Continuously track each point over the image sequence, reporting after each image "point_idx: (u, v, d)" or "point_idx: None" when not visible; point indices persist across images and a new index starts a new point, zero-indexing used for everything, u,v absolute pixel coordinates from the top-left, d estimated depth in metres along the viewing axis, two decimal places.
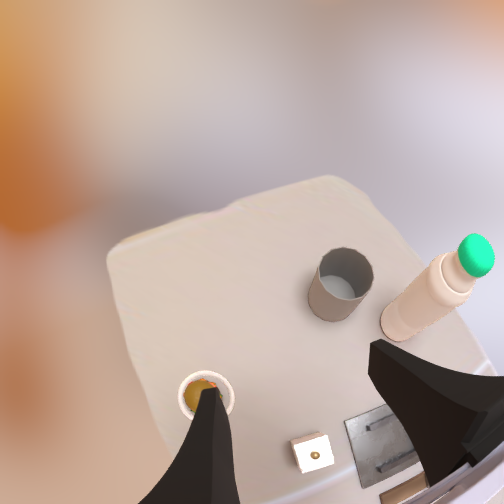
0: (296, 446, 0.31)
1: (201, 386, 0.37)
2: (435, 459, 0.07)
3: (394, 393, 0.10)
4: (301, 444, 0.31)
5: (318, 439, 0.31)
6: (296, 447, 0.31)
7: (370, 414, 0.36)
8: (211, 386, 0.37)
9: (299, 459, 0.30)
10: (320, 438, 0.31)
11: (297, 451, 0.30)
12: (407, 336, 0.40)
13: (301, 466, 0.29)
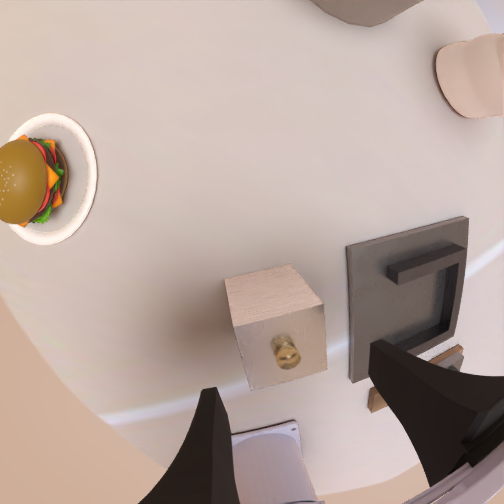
0: (239, 329, 0.13)
1: (6, 157, 0.10)
2: (435, 459, 0.07)
3: (394, 393, 0.10)
4: (253, 325, 0.13)
5: (300, 313, 0.14)
6: (239, 332, 0.13)
7: (399, 243, 0.19)
8: (29, 151, 0.11)
9: (245, 361, 0.14)
10: (305, 311, 0.14)
11: (241, 342, 0.14)
12: (485, 113, 0.15)
13: (249, 376, 0.14)
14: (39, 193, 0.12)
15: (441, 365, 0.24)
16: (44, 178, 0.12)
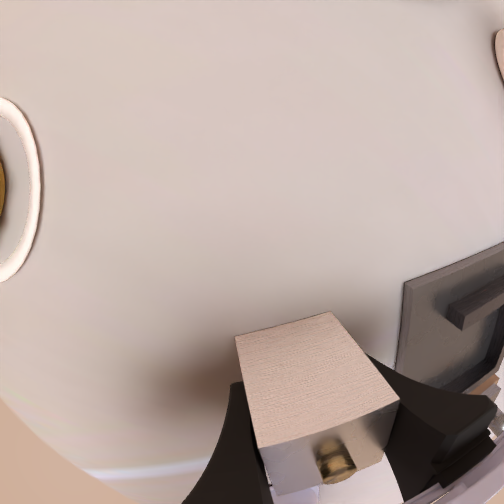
0: (268, 449, 0.07)
1: None
2: (407, 475, 0.07)
3: None
4: (291, 442, 0.07)
5: (365, 417, 0.07)
6: (267, 453, 0.07)
7: (464, 275, 0.13)
8: None
9: (274, 476, 0.07)
10: (374, 413, 0.07)
11: (270, 461, 0.07)
12: None
13: (277, 486, 0.08)
14: None
15: None
16: None
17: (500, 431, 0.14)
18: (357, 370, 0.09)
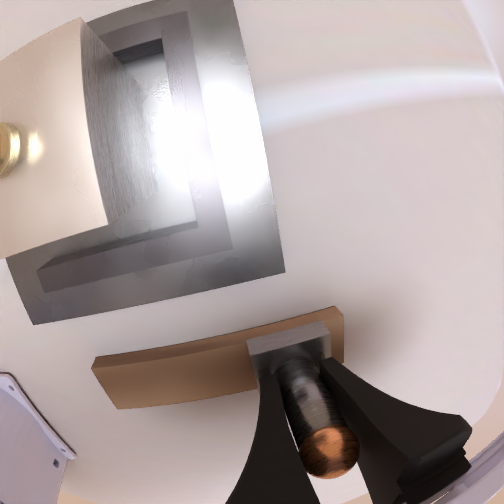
0: None
1: None
2: (378, 490, 0.06)
3: None
4: None
5: (32, 48, 0.03)
6: None
7: None
8: None
9: None
10: (42, 40, 0.03)
11: None
12: None
13: None
14: None
15: (254, 345, 0.12)
16: None
17: (297, 435, 0.09)
18: None
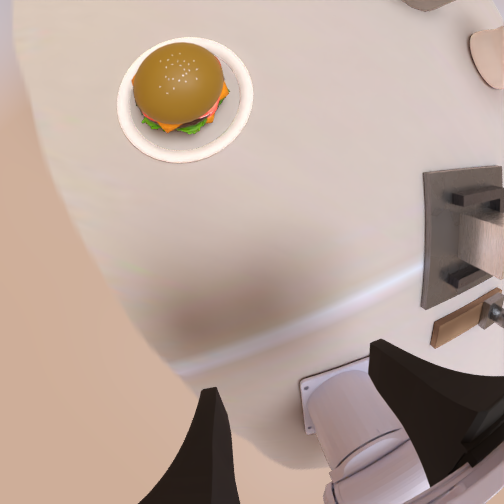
0: None
1: (188, 51, 0.12)
2: (435, 459, 0.07)
3: (394, 393, 0.10)
4: None
5: None
6: None
7: (459, 175, 0.20)
8: (213, 57, 0.12)
9: None
10: None
11: None
12: None
13: (503, 267, 0.17)
14: (214, 98, 0.13)
15: (488, 302, 0.25)
16: (222, 87, 0.13)
17: None
18: None
